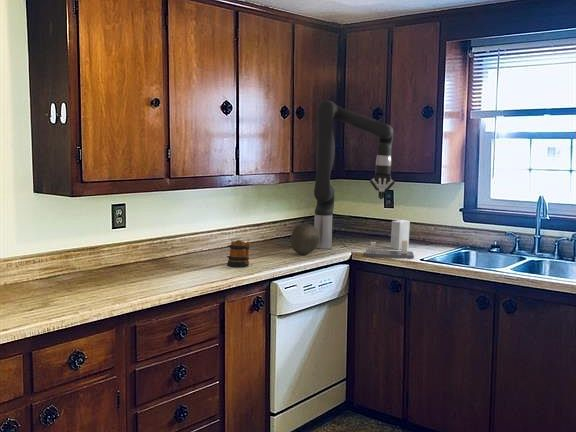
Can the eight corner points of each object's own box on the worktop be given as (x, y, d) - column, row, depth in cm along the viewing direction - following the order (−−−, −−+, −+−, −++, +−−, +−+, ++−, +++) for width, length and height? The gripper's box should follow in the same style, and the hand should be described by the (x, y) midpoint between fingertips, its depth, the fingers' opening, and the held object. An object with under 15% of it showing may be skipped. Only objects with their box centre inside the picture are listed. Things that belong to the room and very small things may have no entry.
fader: (401, 253, 312) (402, 240, 312) (401, 252, 315) (401, 239, 315) (406, 253, 312) (407, 241, 311) (406, 252, 315) (406, 240, 314)
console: (365, 256, 311) (366, 245, 311) (365, 252, 323) (366, 241, 322) (413, 258, 308) (414, 247, 308) (412, 254, 320) (412, 243, 320)
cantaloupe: (289, 256, 305) (290, 225, 303) (290, 251, 319) (291, 221, 317) (319, 257, 305) (320, 226, 303) (319, 252, 319) (320, 222, 317)
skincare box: (400, 247, 342) (401, 219, 340) (409, 248, 337) (410, 220, 335) (389, 248, 336) (391, 220, 335) (398, 250, 332) (400, 221, 330)
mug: (221, 265, 282) (221, 239, 280) (239, 262, 289) (240, 237, 287) (240, 269, 272) (240, 243, 271) (258, 267, 279) (258, 240, 278)
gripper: (370, 164, 317) (367, 198, 319) (397, 165, 315) (394, 200, 318) (370, 163, 325) (368, 197, 327) (396, 165, 323) (394, 199, 325)
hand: (381, 199), depth 322 cm, fingers closed
